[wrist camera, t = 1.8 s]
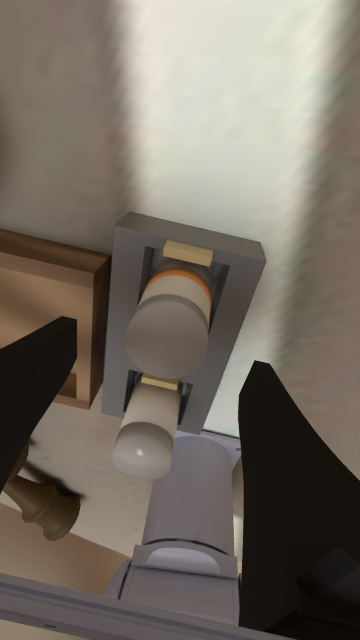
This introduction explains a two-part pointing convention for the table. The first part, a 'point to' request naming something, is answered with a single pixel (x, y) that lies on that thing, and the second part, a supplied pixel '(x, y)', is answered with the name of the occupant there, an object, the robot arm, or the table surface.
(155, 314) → the marked fuse
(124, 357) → the fuse holder
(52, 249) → the tray
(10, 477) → the kendama
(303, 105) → the table surface
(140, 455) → the plain fuse
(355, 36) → the table surface
